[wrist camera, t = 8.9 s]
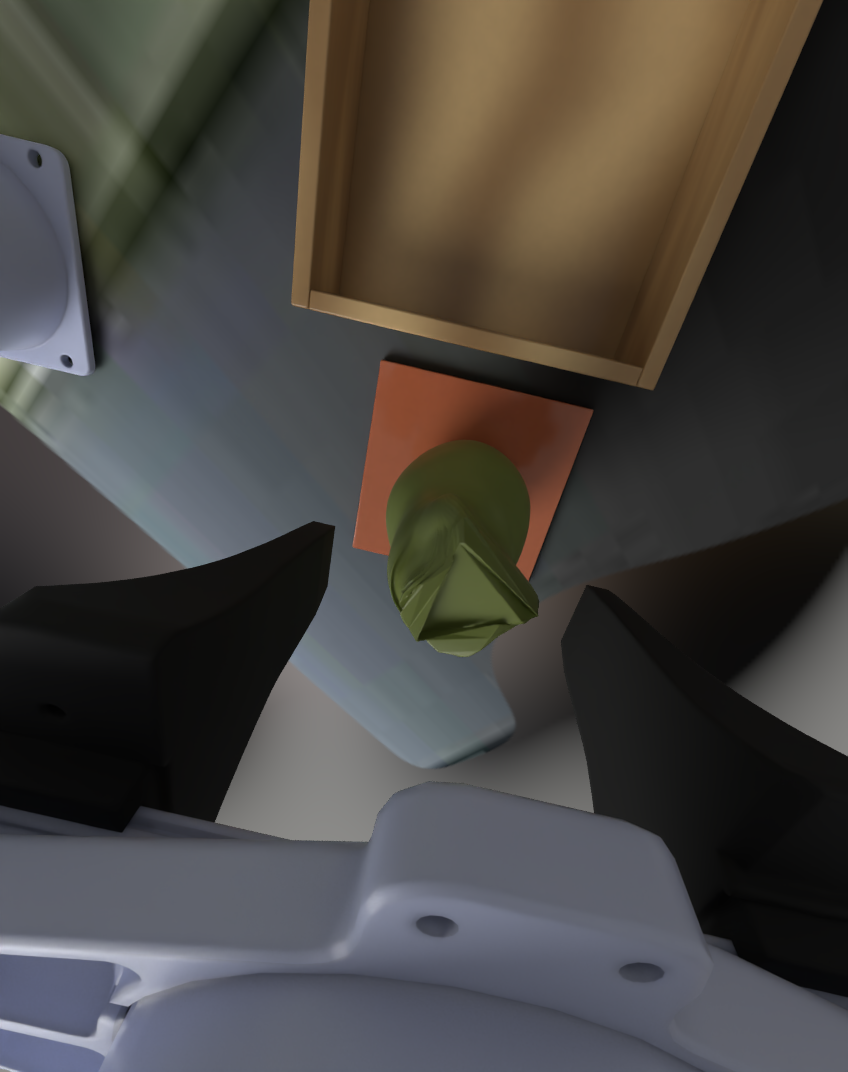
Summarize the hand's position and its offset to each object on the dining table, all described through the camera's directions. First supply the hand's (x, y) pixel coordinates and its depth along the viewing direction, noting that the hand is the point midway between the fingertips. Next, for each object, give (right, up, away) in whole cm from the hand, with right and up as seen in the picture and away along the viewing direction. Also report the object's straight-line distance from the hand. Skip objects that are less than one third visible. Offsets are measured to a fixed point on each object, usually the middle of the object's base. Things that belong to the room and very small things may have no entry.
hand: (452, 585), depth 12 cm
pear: (+1, +4, +8) cm, 9 cm away
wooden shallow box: (+3, +15, +2) cm, 16 cm away
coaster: (+1, +4, +8) cm, 9 cm away
